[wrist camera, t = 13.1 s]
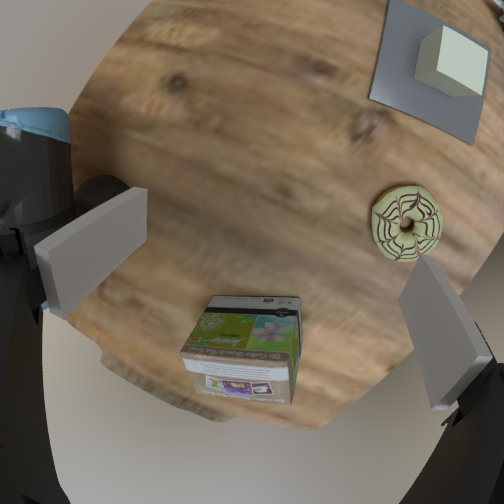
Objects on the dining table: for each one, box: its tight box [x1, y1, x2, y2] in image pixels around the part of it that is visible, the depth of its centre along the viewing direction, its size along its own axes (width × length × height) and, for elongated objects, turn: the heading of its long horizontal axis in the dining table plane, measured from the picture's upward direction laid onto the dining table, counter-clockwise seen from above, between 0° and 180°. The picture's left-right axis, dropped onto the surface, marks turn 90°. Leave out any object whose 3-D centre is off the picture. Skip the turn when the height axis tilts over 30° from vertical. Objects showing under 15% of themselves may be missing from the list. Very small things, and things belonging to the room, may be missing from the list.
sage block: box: [414, 25, 488, 97], centre depth 22 cm, size 6×6×8 cm
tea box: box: [180, 296, 302, 405], centre depth 43 cm, size 15×10×15 cm
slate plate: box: [368, 0, 491, 146], centre depth 26 cm, size 16×16×1 cm
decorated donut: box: [371, 186, 443, 263], centre depth 35 cm, size 10×11×4 cm
